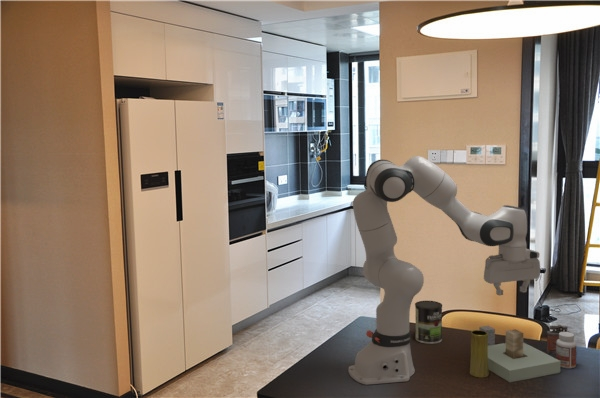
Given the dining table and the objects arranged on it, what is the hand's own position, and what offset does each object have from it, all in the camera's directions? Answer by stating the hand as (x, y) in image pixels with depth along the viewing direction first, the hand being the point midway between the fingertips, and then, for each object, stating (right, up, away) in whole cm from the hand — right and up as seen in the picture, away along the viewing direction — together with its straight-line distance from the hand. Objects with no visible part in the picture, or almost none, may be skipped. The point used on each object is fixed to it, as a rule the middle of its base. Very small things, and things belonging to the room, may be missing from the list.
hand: (511, 293), depth 191 cm
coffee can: (-21, -23, +29) cm, 43 cm away
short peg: (-1, -23, +23) cm, 32 cm away
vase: (-12, -26, -3) cm, 29 cm away
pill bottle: (+19, -25, +1) cm, 31 cm away
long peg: (+2, -25, +2) cm, 25 cm away
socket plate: (+2, -25, +2) cm, 25 cm away
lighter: (+22, -24, +12) cm, 34 cm away
